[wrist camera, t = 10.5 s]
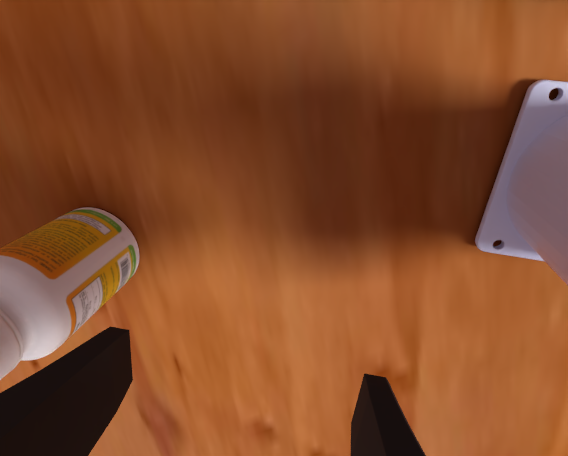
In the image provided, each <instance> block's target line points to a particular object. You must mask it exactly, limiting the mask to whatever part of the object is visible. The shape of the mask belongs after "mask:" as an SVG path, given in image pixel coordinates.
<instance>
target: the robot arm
mask: <svg viewBox="0 0 568 456" xmlns="http://www.w3.org/2000/svg"><path fill="white" fill-rule="evenodd" d="M554 88H557V89H558V91H559V93H558V96H557V97H556V98H555V99H553V100H550V99H549V93H550V91H551V90H553V89H554ZM497 240H502V242H501V244H500V245H498V246H493V243H494V242H495V241H497ZM475 243H476V246H477V247H478V248H479V249H480V250H481V251H484V252H490V253H496V254H502V255H509V256H515V257H521V258H527V259H533V260H540V261H545V262H546V263H547V264H548V265H549V266H550V267H551V268H552V269H553V270H554V271H555V272H556V273H557V275H558V276H559V277H560V278H561V279H562V280H563V281H564V282H565V283H566V284H567V285H568V82H561V81H552V80H538V81H536V82H534V83H533V84H531V85H530V86H529V88H528V90H527V92H526V95H525V98H524V101H523V103H522V106H521V109H520V112H519V115H518V118H517V121H516V123H515V126H514V129H513V132H512V135H511V138H510V141H509V144H508V146H507V149H506V152H505V155H504V158H503V161H502V164H501V166H500V169H499V172H498V175H497V178H496V181H495V184H494V186H493V189H492V192H491V195H490V198H489V201H488V204H487V206H486V209H485V212H484V215H483V218H482V221H481V224H480V226H479V229H478V232H477V235H476V238H475ZM132 380H133V379H132V364H131V350H130V335H129V330H126V329H120V328H115V327H109V328H107V329H106V330H104V331H102V332H101V333H99V334H98V335H96V336H94V337H93V338H91V339H90V340H88V341H86V342H85V343H83V344H82V345H80V346H79V347H77V348H76V349H74V350H72V351H71V352H69V353H68V354H66V355H64V356H63V357H61V358H60V359H58V360H56V361H55V362H53V363H51V364H50V365H48V366H47V367H45V368H43V369H42V370H40V371H38V372H37V373H35V374H33V375H31V376H30V377H28V378H26V379H24V380H23V381H21V382H19V383H17V384H16V385H14V386H12V387H10V388H9V389H7V390H5V391H3V392H2V393H0V456H88V455H89V453H90V452H91V450H92V449H93V447H94V446H95V444H96V443H97V441H98V440H99V438H100V437H101V435H102V434H103V432H104V431H105V429H106V427H107V426H108V424H109V423H110V421H111V420H112V418H113V417H114V415H115V414H116V412H117V410H118V408H119V406H120V404H121V402H122V400H123V399H124V397H125V394H126V392H127V390H128V388H129V386H130V384H131V382H132ZM351 456H426V455H425V453H424V452H423V450H422V448H421V446H420V444H419V442H418V441H417V439H416V437H415V435H414V433H413V431H412V430H411V428H410V426H409V424H408V422H407V420H406V418H405V416H404V414H403V412H402V410H401V408H400V406H399V404H398V402H397V399H396V397H395V395H394V393H393V391H392V389H391V386H390V384H389V382H388V380H387V379H386V377H380V376H375V375H369V374H364V377H363V381H362V385H361V388H360V392H359V396H358V400H357V403H356V407H355V411H354V415H353V418H352V422H351Z"/></svg>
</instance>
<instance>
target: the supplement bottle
mask: <svg viewBox="0 0 568 456" xmlns="http://www.w3.org/2000/svg"><path fill="white" fill-rule="evenodd" d="M138 264H139V248H138V244H137V242H136V239H135V237H134V236H133V234H132V233H131V231H130V230H129V229H128V227H127V226H126V225H125V224H124V223H123V222H122V221H121V220H119V219H118V218H117V217H115V216H114V215H112V214H110V213H108V212H106V211H104V210H101V209H98V208H91V207H86V208H79V209H75V210H73V211H70V212H68V213H66V214H64V215H62V216H60V217H58V218H56V219H55V220H53V221H51V222H49V223H47V224H45V225H43V226H42V227H40V228H38V229H36V230H34V231H32V232H30V233H28V234H26V235H24V236H22V237H20V238H19V239H16V240H15V241H12V242H11V243H8V244H7V245H5V246H3V247H1V248H0V380H1V379H2V378H3V377H4V376H6V375H7V374H8V373H9V372H10V371H12V370H13V369H14V368H15V367H16V366H17V364H18V363H19V362H20V360H34V359H39V358H42V357H45V356H47V355H49V354H50V353H52V352H53V351H55V350H56V349H57V348H58V347H59V346H61V345H62V344H63V343H64V342H65V341H66V340H67V339H68V338H69V337H70V336H71V335H72V334H73V333H74V332H76V331H77V330H78V329H79V328H80V327H81V326H82V325H83V324H84V323H85V322H86V321H87V320H88V319H89V318H90V317H91V316H92V315H93V314H94V313H95V312H96V311H97V310H98V309H100V308H101V307H102V306H103V305H104V304H105V303H106V302H107V301H108V300H109V299H110V298H111V297H112V296H113V295H114V294H115V293H116V292H117V291H118V290H119V289H120V288H121V287H122V286H123V285H124V284H126V283H127V282H128V280H129V279H130V278H131V277H132V276H133V275H134V273H135V272H136V270H137V267H138Z"/></svg>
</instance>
